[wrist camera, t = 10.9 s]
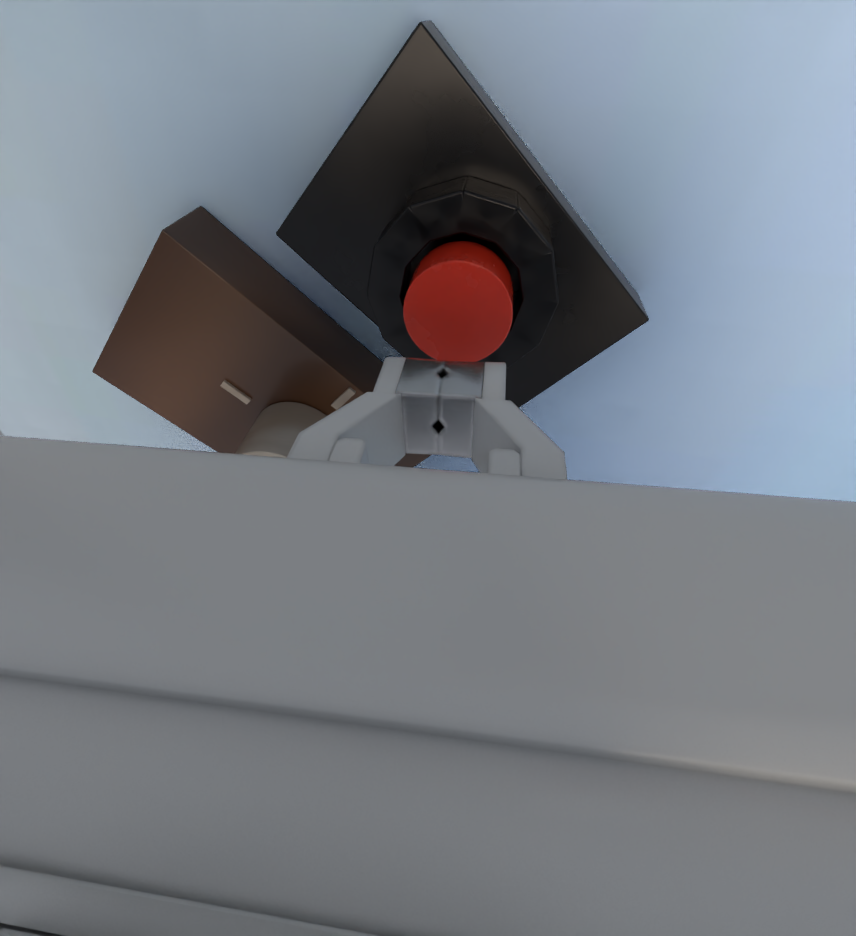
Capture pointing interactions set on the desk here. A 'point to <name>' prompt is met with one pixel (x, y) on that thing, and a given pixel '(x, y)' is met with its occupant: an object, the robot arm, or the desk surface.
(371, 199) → the control block
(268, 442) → the dial
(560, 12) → the desk surface
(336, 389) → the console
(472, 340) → the button
